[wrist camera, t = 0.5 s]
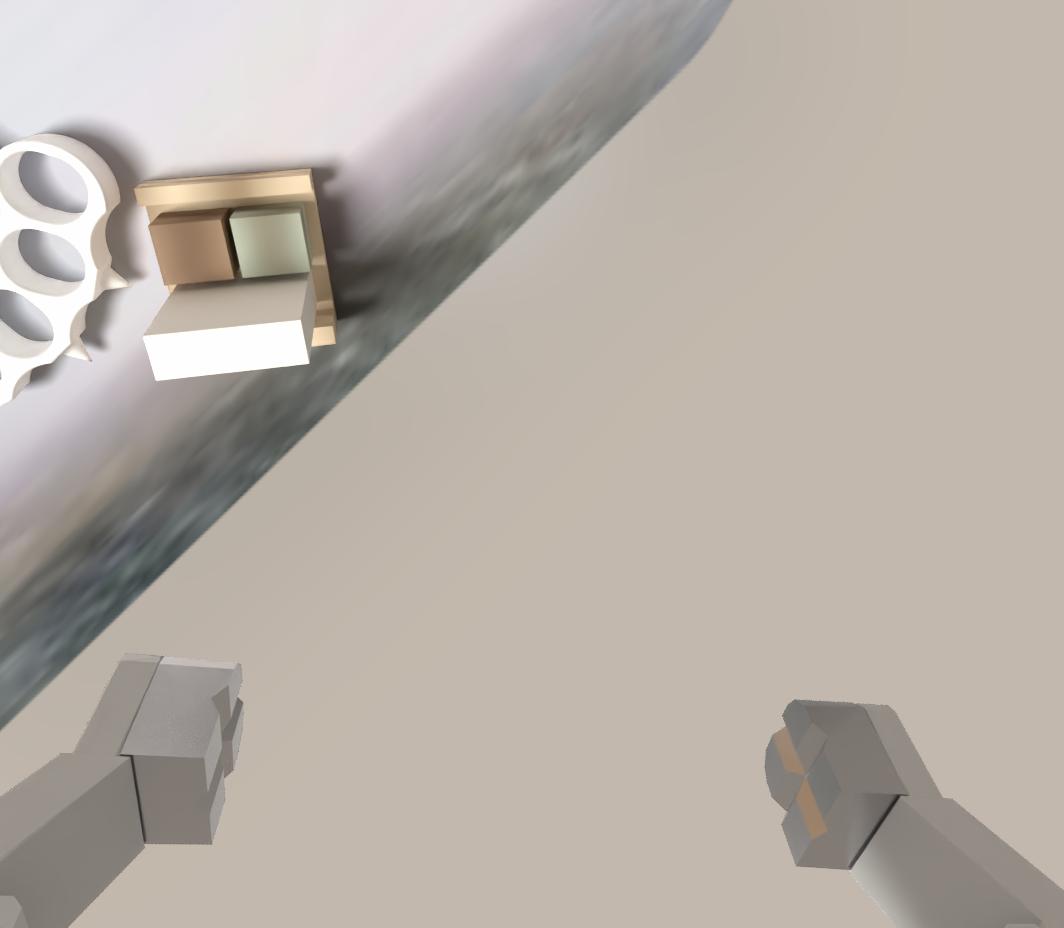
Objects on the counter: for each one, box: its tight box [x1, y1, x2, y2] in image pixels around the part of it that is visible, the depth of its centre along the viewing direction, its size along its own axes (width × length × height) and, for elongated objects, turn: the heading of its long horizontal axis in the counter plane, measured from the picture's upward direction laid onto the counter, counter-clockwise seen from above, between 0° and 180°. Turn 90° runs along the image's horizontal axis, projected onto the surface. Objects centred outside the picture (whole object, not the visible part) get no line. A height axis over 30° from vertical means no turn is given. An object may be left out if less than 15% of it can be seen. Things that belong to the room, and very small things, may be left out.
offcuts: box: [148, 201, 313, 285], centre depth 49 cm, size 8×4×4 cm, turn 93°
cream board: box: [143, 270, 317, 381], centre depth 48 cm, size 8×2×11 cm, turn 93°
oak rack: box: [134, 168, 337, 346], centre depth 50 cm, size 10×10×4 cm
